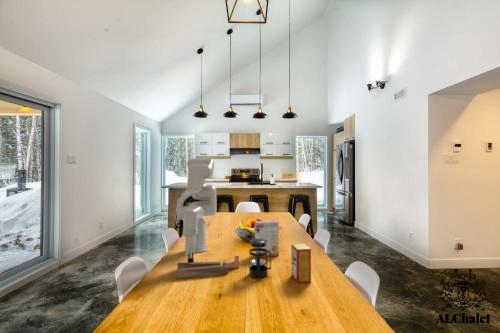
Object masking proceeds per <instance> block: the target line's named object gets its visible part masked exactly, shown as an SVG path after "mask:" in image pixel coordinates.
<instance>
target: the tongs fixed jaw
mask: <svg viewBox="0 0 500 333" xmlns="http://www.w3.org/2000/svg"><path fill="white" fill-rule="evenodd" d="M227 262H228V261H224V262H223V263H222V264H221V265H214V266H204V267H194V268H184V269H178V268H177V269H176V280H184V279H192V278H193V279H194V278H202V277H203V278H204V277H212V276H219V275H220V276H222V275H228V274H229V268H228V263H227Z"/></svg>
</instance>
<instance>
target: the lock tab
mask: <svg viewBox="0 0 500 333" xmlns="http://www.w3.org/2000/svg"><path fill="white" fill-rule="evenodd" d="M226 262H227V263H228V269H237V268H240V255H239V254H234V260H230V261H226Z"/></svg>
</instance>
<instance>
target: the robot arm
mask: <svg viewBox="0 0 500 333" xmlns="http://www.w3.org/2000/svg"><path fill="white" fill-rule="evenodd" d="M186 167H187V169H188V170H187V180H186V181H187V184H186V185H187V186H186V189H185V190H184V191H183V192H182V194H180V196H179V198H178V200H177V208H176V217H177V219H178V220H180V221H181V220H182V221H183V222H182V223H183V226H182V227H183V233H182V235H183V236H184V246H185V247H184V252H185V256H186V257H187V262H195V259H194V255H195V254H196V253H204V252H206V251H208V250H209V246H208V245H206V244H207V243H206V242H207V238H206V237H207V234H206V233H207V228H206V227H207V226H206V225H207V223H206V220H205V219H204V218H203V217H213V216H215V215H216V214H217V209H218V208H217V205H218V204H217V188H216V186H215V185H213V184H206V179H210V178H212V177H213V175H214V170H215V161H214V159H212V158H189V159H188V160H187V161H186ZM190 197H192V199H194V200H208V201H193V202H191V203H190V205H189V206H187V205H184V203H185V201H186V200H187V199H188V198H190Z"/></svg>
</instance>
